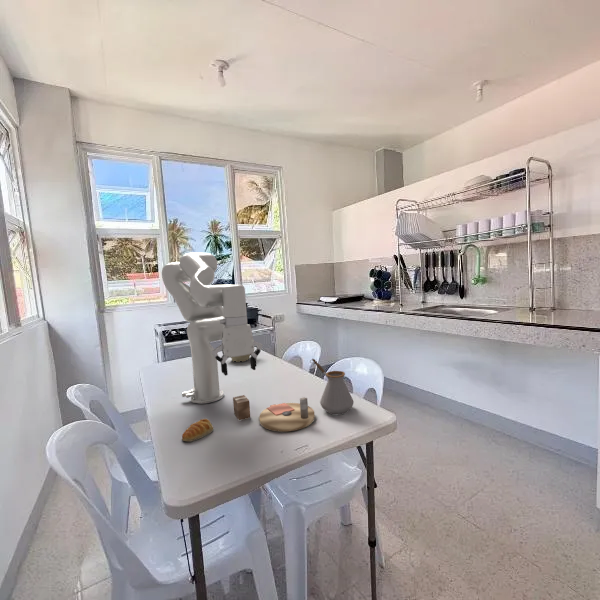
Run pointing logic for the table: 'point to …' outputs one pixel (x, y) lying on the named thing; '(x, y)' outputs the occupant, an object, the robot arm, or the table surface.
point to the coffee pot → (335, 393)
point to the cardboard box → (241, 407)
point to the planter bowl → (241, 358)
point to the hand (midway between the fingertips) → (239, 371)
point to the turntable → (287, 416)
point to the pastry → (197, 430)
